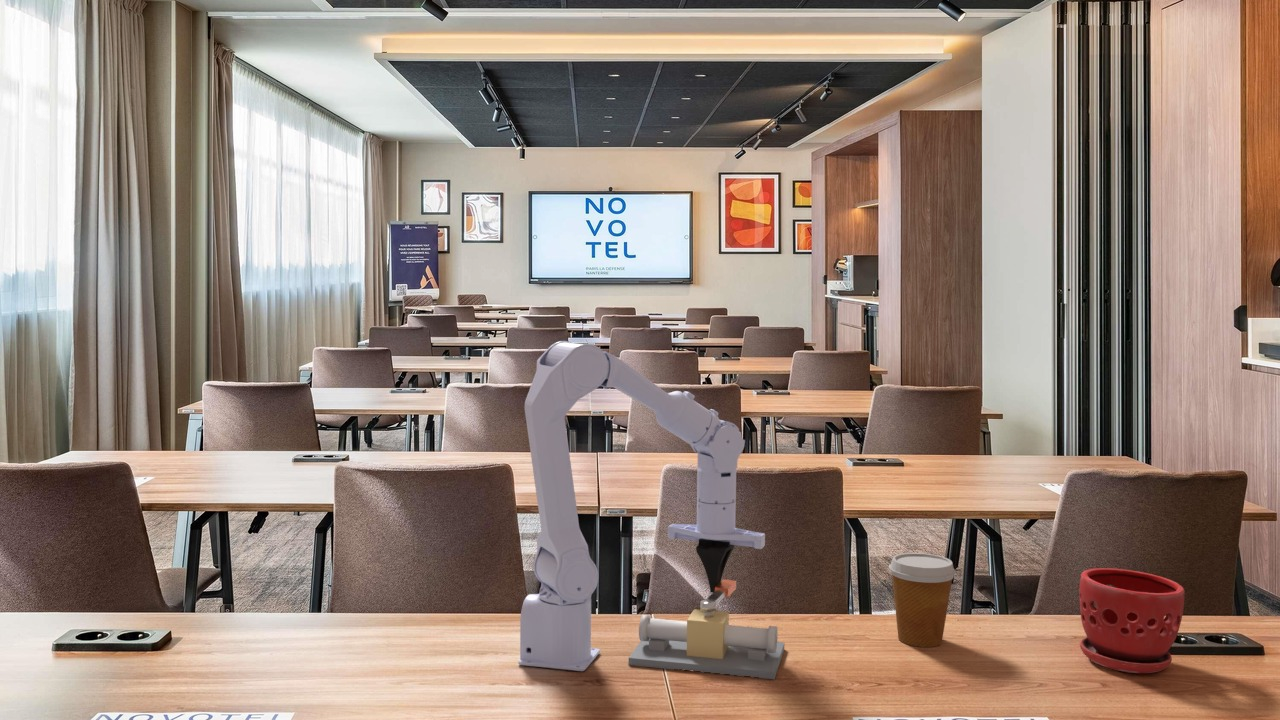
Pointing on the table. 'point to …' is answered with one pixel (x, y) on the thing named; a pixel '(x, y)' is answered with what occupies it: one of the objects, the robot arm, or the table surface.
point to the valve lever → (718, 595)
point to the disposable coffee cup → (921, 596)
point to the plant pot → (1129, 619)
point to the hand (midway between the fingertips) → (715, 591)
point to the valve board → (708, 664)
